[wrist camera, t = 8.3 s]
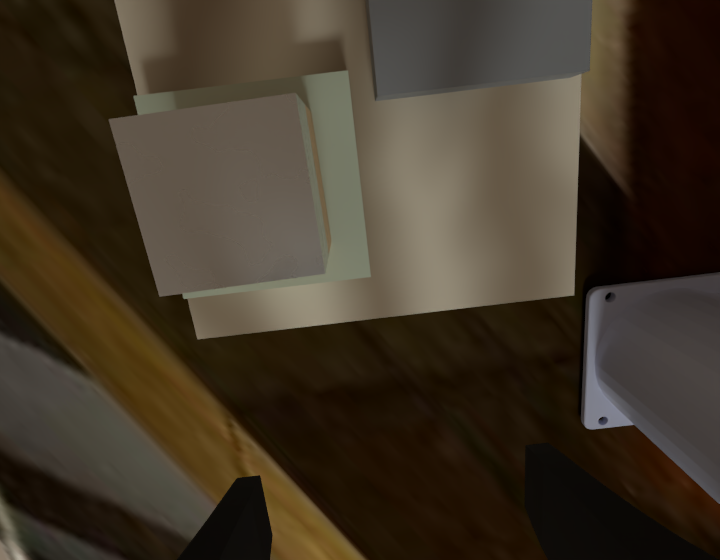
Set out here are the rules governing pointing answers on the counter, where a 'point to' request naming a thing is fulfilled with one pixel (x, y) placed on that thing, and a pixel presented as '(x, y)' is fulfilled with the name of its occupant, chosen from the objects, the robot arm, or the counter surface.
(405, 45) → the stand
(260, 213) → the block
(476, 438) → the counter surface
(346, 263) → the stand
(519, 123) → the board
